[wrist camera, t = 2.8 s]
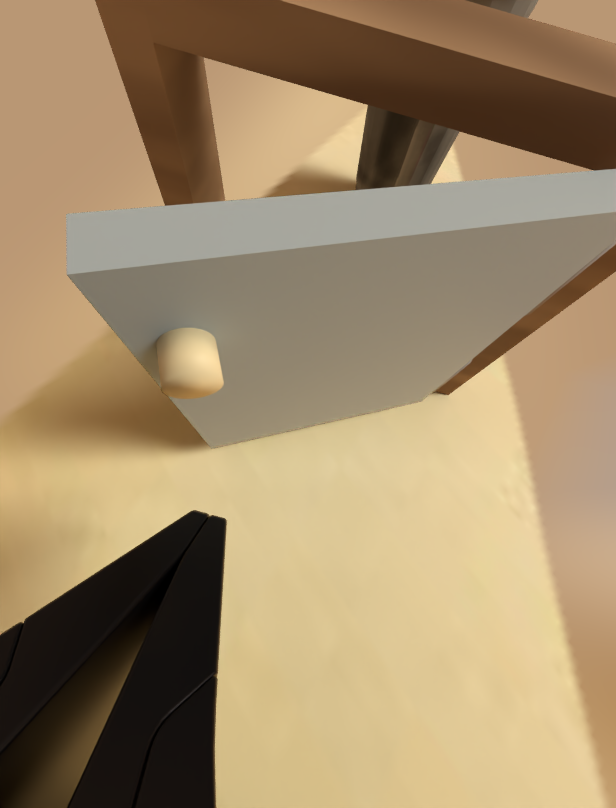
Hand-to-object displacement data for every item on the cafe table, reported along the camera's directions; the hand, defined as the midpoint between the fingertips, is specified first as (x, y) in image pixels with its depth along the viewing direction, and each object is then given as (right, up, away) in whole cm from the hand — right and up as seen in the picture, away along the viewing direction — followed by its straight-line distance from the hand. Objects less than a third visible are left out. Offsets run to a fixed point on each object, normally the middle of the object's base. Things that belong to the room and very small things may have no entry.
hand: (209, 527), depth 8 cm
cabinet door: (+4, +2, +8) cm, 9 cm away
